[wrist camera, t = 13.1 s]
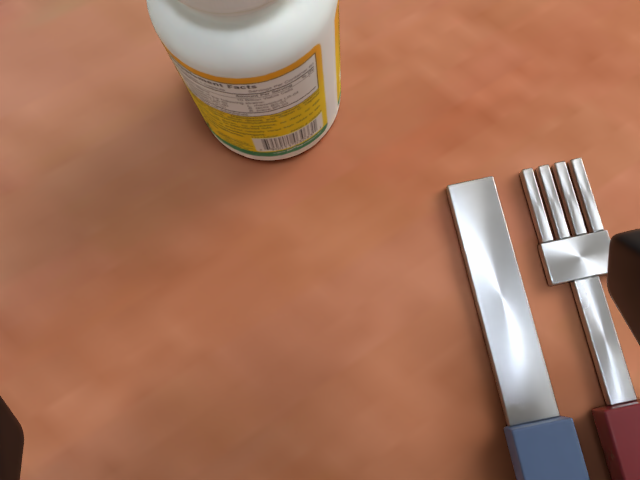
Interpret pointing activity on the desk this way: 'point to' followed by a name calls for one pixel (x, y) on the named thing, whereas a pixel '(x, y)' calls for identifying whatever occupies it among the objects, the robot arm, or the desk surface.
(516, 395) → the knife
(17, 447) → the robot arm
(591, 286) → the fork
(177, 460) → the desk surface
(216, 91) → the supplement bottle
